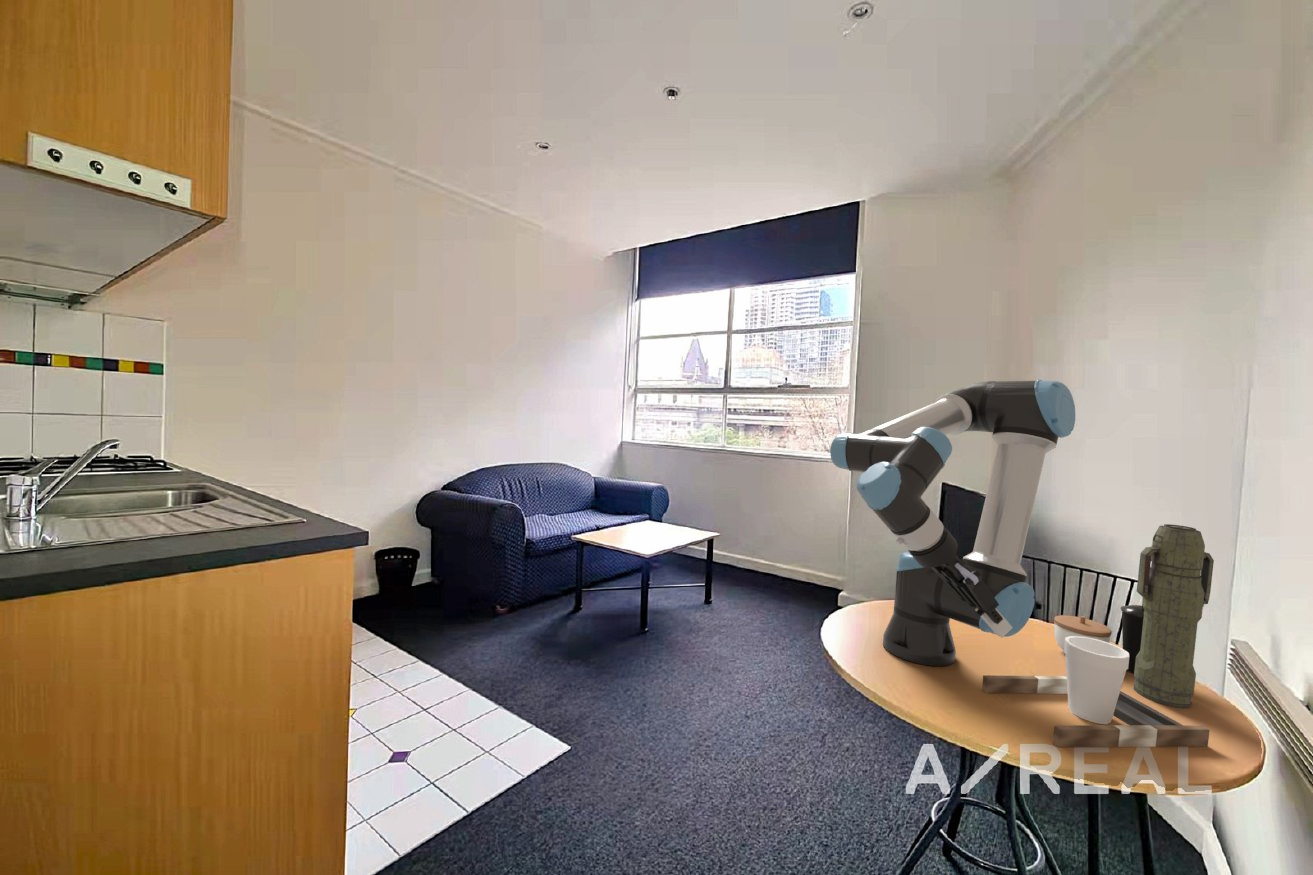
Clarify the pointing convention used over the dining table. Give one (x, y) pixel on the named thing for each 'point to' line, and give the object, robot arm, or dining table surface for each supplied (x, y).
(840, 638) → the dining table surface
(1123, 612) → the drinking cup
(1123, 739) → the lane
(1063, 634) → the lidded jar
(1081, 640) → the foam cup
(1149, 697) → the thermos
